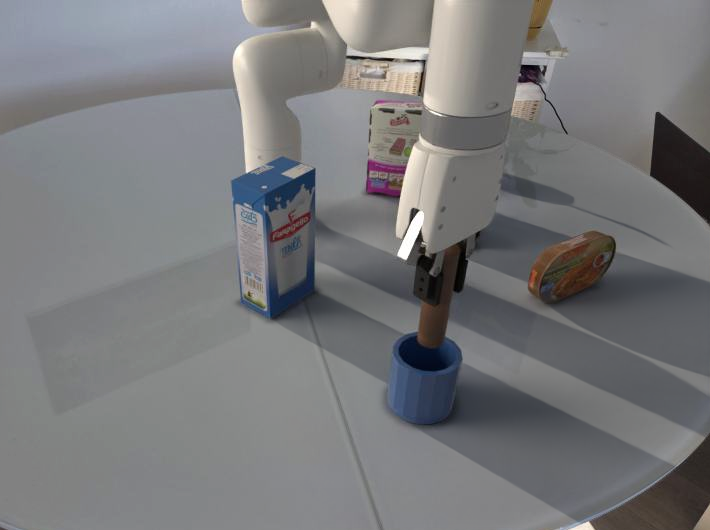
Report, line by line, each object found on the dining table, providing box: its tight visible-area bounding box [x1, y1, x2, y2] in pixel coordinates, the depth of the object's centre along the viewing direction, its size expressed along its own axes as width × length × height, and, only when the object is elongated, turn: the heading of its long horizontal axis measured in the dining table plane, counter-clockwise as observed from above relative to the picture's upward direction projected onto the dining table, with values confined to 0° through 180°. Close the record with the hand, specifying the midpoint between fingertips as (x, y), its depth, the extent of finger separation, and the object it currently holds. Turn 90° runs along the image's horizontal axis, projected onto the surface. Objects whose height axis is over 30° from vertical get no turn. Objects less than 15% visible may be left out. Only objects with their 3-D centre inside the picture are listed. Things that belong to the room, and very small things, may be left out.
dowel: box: [417, 244, 460, 348], centre depth 68 cm, size 3×3×12 cm
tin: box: [527, 230, 617, 304], centre depth 92 cm, size 15×3×8 cm, turn 117°
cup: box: [386, 331, 464, 425], centre depth 76 cm, size 8×8×8 cm
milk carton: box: [230, 157, 317, 320], centre depth 91 cm, size 10×6×20 cm, turn 134°
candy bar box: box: [365, 99, 423, 198], centre depth 117 cm, size 11×5×16 cm, turn 68°
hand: (437, 292), depth 68 cm, fingers closed on dowel, 3 cm apart
